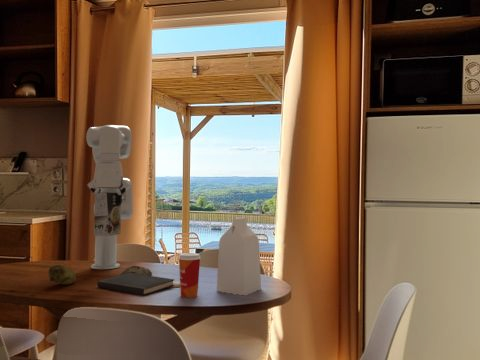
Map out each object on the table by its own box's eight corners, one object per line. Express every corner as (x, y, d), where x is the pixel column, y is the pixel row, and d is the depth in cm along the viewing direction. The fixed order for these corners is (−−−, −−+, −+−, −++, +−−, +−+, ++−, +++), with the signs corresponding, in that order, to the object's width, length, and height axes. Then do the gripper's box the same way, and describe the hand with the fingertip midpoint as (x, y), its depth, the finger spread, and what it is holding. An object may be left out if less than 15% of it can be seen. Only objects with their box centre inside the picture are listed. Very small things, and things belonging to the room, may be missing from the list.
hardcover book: (129, 278, 168) (129, 272, 168) (174, 285, 156) (174, 279, 156) (97, 287, 154) (97, 281, 154) (143, 295, 142) (143, 289, 142)
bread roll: (155, 276, 178) (155, 264, 178) (141, 281, 166) (141, 269, 166) (128, 274, 182) (128, 262, 182) (112, 279, 170) (112, 267, 170)
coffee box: (109, 236, 155) (109, 192, 156) (93, 235, 156) (94, 192, 157) (121, 234, 164) (122, 192, 164) (106, 233, 165) (107, 192, 166)
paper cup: (178, 293, 147) (178, 252, 147) (200, 292, 147) (201, 252, 148) (176, 298, 139) (177, 256, 139) (200, 298, 140) (200, 256, 140)
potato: (84, 282, 162) (85, 261, 162) (56, 289, 151) (57, 267, 151) (69, 280, 166) (69, 260, 166) (40, 287, 154) (41, 265, 155)
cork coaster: (166, 282, 163) (166, 281, 163) (187, 283, 163) (187, 281, 163) (163, 287, 155) (163, 286, 155) (184, 287, 155) (184, 286, 155)
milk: (244, 295, 144) (244, 219, 145) (216, 291, 150) (217, 218, 151) (261, 289, 154) (261, 217, 155) (234, 285, 160) (235, 216, 161)
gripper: (82, 157, 158) (81, 205, 157) (129, 158, 157) (128, 205, 157) (90, 159, 165) (89, 205, 165) (134, 159, 165) (133, 205, 164)
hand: (108, 205), depth 161 cm, fingers closed on coffee box, 7 cm apart
